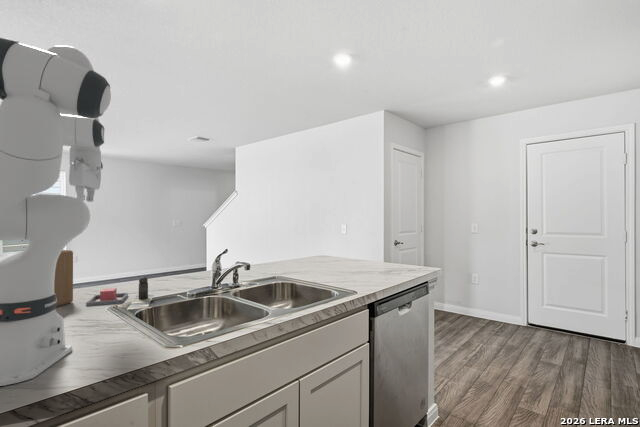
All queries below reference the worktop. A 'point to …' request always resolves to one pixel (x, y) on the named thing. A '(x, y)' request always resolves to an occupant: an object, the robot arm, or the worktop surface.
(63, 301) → the wooden block
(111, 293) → the red cube
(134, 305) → the board
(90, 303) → the dice tray
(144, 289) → the pawn
